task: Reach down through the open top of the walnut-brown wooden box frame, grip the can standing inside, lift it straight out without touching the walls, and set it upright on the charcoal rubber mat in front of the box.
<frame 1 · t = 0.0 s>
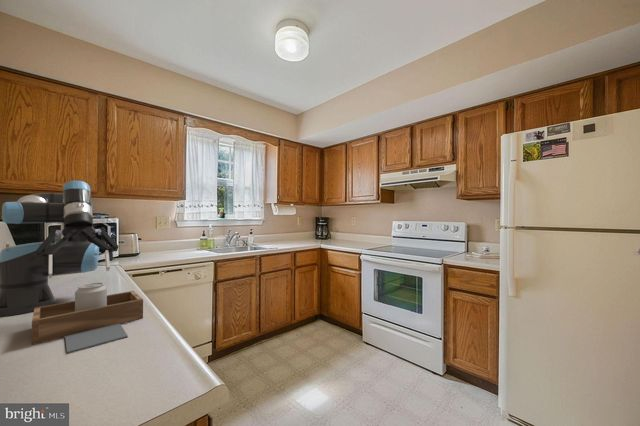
hand: (81, 272, 84), 15 cm above the counter, tool tilted 35°, fingers open, 13 cm apart
mat: (96, 337, 72), on the counter
box frame: (91, 322, 81), on the counter
can: (91, 323, 81), resting in box frame
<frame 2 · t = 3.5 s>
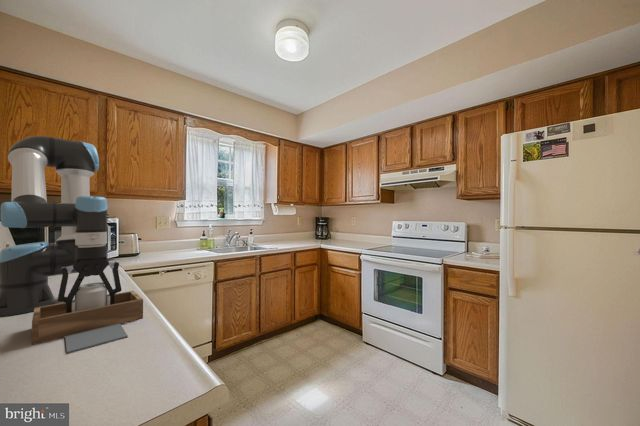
hand: (91, 319, 81), 1 cm above the counter, tool pointing down, fingers closed on can, 7 cm apart
can: (91, 323, 81), resting in box frame, touching gripper
when the fingers open (3 cm above the counter, at t = 10.1 s): can drops 1 cm, resting on mat.
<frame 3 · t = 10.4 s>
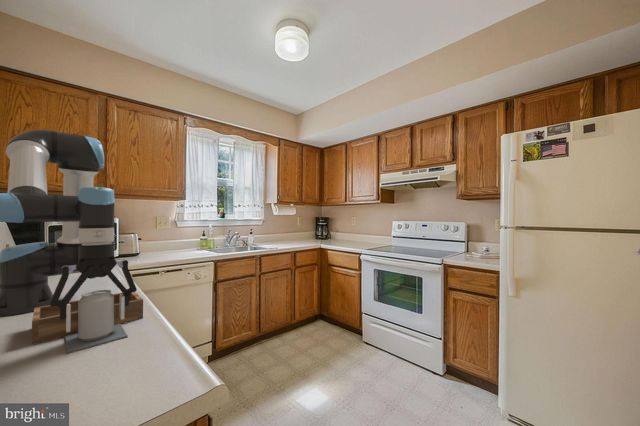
hand: (96, 323, 72), 4 cm above the counter, tool pointing down, fingers open, 10 cm apart
can: (96, 336, 72), resting on mat
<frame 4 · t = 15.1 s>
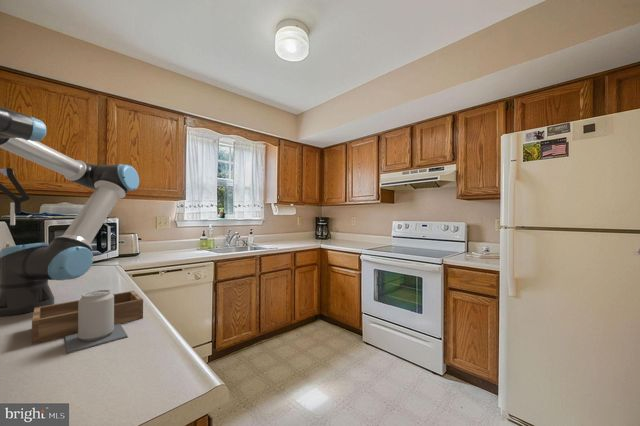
nothing on the counter moved.
at the end: can 0.0 cm off-centre on the mat, point 0.2 cm above the mat's base; can tilted 0°; can touching mat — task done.
